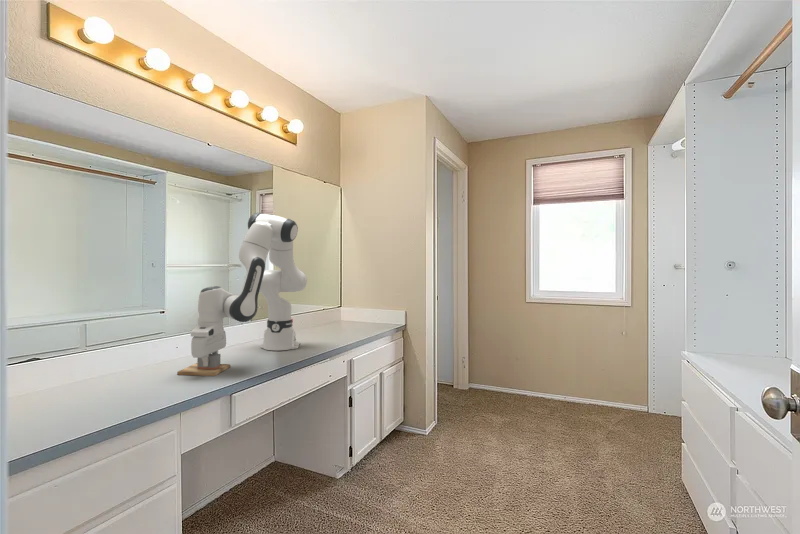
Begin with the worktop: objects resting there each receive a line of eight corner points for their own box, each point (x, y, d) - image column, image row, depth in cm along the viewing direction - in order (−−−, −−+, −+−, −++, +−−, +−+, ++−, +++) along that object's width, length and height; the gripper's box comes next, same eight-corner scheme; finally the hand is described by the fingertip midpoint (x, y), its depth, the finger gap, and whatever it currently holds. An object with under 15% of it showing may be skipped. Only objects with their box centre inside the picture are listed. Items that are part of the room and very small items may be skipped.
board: (195, 366, 164) (195, 363, 164) (230, 367, 163) (230, 364, 163) (177, 374, 151) (177, 371, 151) (214, 375, 150) (214, 372, 150)
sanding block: (202, 366, 159) (202, 353, 159) (220, 366, 159) (220, 353, 159) (197, 368, 155) (197, 355, 155) (215, 369, 155) (215, 356, 155)
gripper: (215, 324, 168) (215, 357, 168) (188, 332, 147) (187, 370, 147) (230, 324, 167) (230, 358, 168) (205, 333, 147) (204, 371, 147)
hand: (209, 364), depth 157 cm, fingers closed on sanding block, 4 cm apart
